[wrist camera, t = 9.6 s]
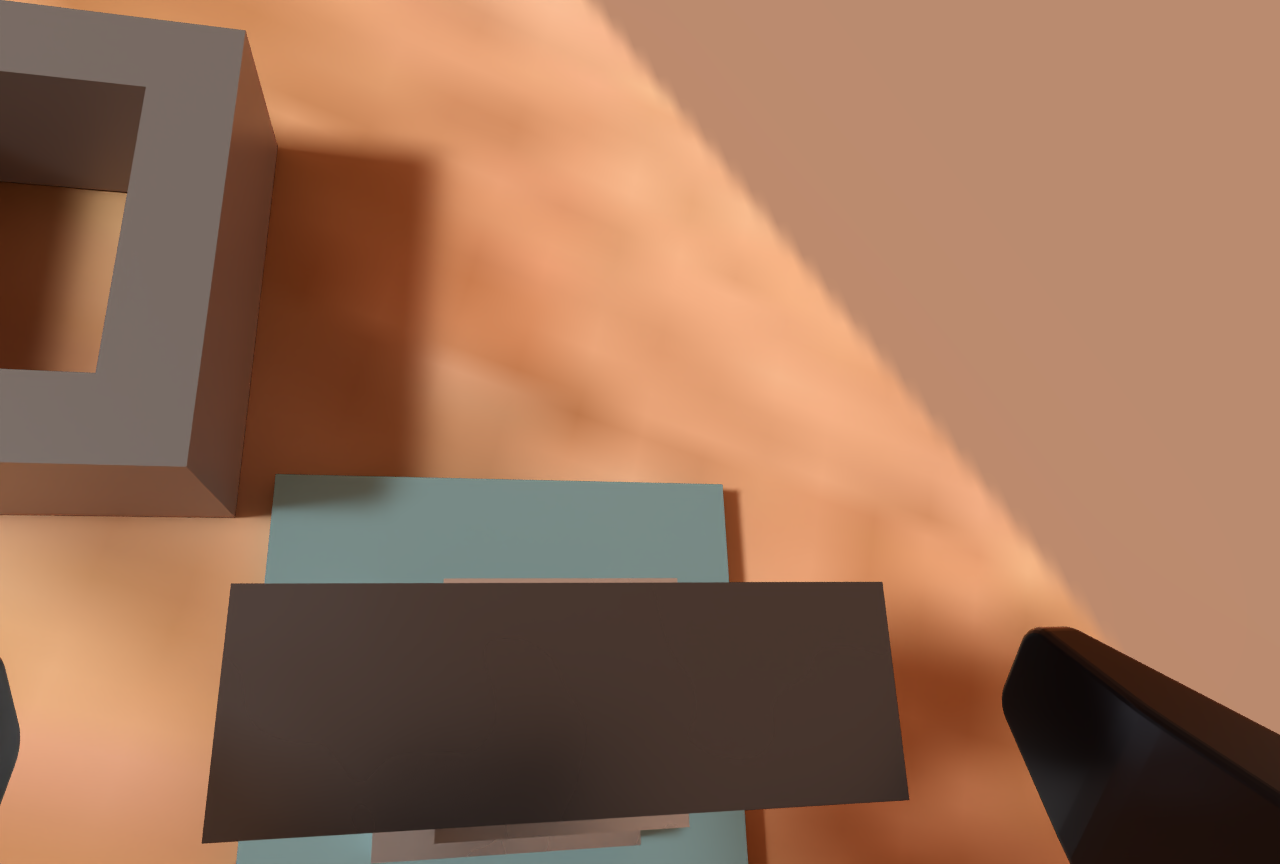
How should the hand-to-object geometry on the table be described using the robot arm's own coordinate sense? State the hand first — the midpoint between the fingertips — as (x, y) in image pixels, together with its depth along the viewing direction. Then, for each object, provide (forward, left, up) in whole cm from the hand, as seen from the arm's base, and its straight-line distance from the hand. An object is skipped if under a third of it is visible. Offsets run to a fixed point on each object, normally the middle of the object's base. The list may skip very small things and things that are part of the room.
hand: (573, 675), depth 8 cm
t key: (0, 0, -9) cm, 9 cm away
